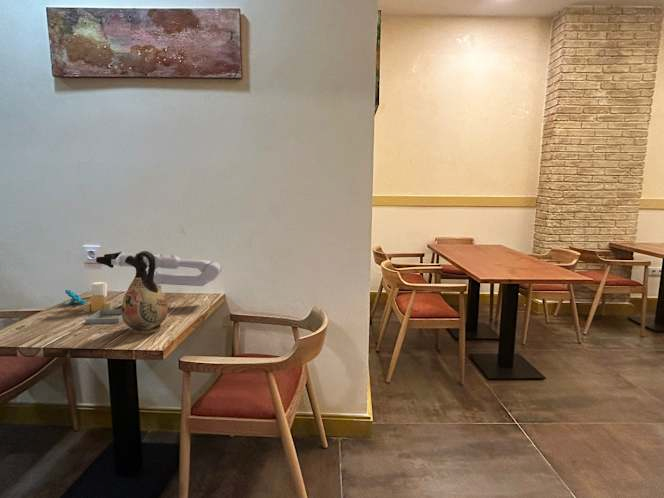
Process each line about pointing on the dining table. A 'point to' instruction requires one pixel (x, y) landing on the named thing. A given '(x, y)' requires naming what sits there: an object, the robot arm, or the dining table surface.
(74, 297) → the gear
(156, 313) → the ceramic jug
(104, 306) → the panel
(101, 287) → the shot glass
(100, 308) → the block
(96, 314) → the parts tray
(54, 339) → the dining table surface
